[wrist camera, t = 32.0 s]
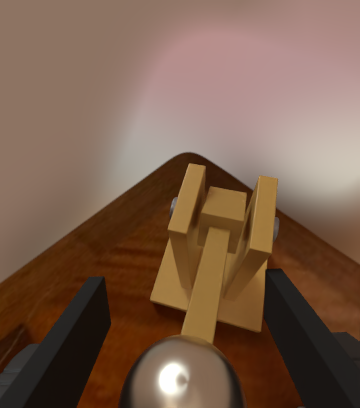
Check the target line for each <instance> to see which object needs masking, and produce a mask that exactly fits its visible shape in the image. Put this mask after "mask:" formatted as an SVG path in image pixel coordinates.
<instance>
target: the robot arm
mask: <svg viewBox="0 0 360 408" xmlns="http://www.w3.org/2000/svg"><path fill="white" fill-rule="evenodd" d="M264 319H265V321H266V323H267V325H268V328H269V330H270V332H271V334H272V336H273V339H274V341H275V343H276V345H277V347H278V349H279V352H280V354H281V356H282V358H283V360H284V363H285V365H286V367H287V369H288V371H289V373H290V376H291V378H292V380H293V382H294V384H295V387H296V389H297V391H298V393H299V395H300V397H301V400H302V402H303V404H304V406H305V408H360V341H358V340H357V339H355V338H354V337H352V336H351V335H350V334H348V333H347V332H337V333H331V332H330V331H329V329H328V328H327V327H326V325H325V324H324V323H323V322H322V320H321V319H320V318H319V316H318V315H317V314H316V313H315V311H314V310H313V309H312V307H311V306H310V305H309V304H308V302H307V301H306V300H305V299H304V297H303V296H302V295H301V293H300V292H299V291H298V290H297V288H296V287H295V286H294V284H293V283H292V282H291V281H290V279H289V278H288V277H287V275H286V274H285V273H284V272H283V270H282V269H265V298H264ZM110 325H111V319H110V312H109V305H108V299H107V292H106V285H105V278H104V276H102V277H89V278H88V279H87V281H86V282H85V283H84V285H83V286H82V287H81V289H80V290H79V292H78V293H77V294H76V296H75V297H74V298H73V300H72V301H71V302H70V304H69V305H68V307H67V308H66V309H65V311H64V312H63V313H62V315H61V316H60V318H59V319H58V320H57V322H56V323H55V324H54V326H53V327H52V328H51V330H50V331H49V333H48V334H47V335H46V337H45V338H44V339H43V341H42V342H41V343H40V344H29V345H28V346H27V347H26V348H24V349H23V350H22V351H21V352H19V353H18V354H17V355H16V356H15V357H14V358H13V359H12V360H11V361H10V363H9V364H8V365H7V366H6V368H5V369H4V370H3V373H1V374H0V408H76V407H77V405H78V402H79V400H80V397H81V395H82V393H83V390H84V388H85V385H86V383H87V381H88V378H89V376H90V373H91V371H92V369H93V366H94V364H95V361H96V359H97V357H98V354H99V352H100V349H101V347H102V345H103V342H104V340H105V337H106V335H107V333H108V330H109V328H110Z"/></svg>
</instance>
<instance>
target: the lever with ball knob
mask: <svg viewBox="0 0 360 408" xmlns="http://www.w3.org/2000/svg"><path fill="white" fill-rule="evenodd" d="M246 196H247V193H243V192H238V191H232V190H227V189H221V188H216V187H210V189H209V191H208V194H207V197H206V200H205V203H204V206H203V209H202V212H201V219H200V226H199V234H198V241H197V245H198V246H202V247H204V250H203V253H202V257H201V261H200V264H199V268H198V272H197V276H196V279H195V283H194V287H193V290H192V294H191V298H190V302H189V305H188V309H187V313H186V316H185V320H184V324H183V328H182V331H181V335H174V336H169V337H166V338H163V339H161V340H159V341H157V342H155V343H154V344H152V345H151V346H149V347H148V348H147V349H146V350H145V351H144V352H143V353H142V354H141V355H140V356H139V357H138V358H137V360H136V361H135V362H134V364H133V365H132V367H131V369H130V370H129V372H128V374H127V377H126V379H125V381H124V384H123V387H122V390H121V394H120V399H119V404H118V408H247V402H246V397H245V393H244V390H243V387H242V384H241V381H240V379H239V377H238V375H237V372H236V371H235V369H234V367H233V365H232V364H231V363H230V361H229V360H228V359H227V357H226V356H225V355H224V354H223V353H222V352H221V351H220V350H219V349H218V348H216V347H215V346H214V345H213V342H214V336H215V329H216V323H217V316H218V310H219V303H220V297H221V290H222V284H223V277H224V271H225V264H226V258H227V253H232V254H236V250H237V247H238V243H239V239H240V236H241V232H242V228H243V224H244V219H245V208H246Z"/></svg>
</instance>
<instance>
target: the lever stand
mask: <svg viewBox="0 0 360 408" xmlns="http://www.w3.org/2000/svg"><path fill="white" fill-rule="evenodd" d="M205 171H206V167H205V166H201V165H196V164H189V165H188V168H187V172H186V175H185V178H184V181H183V184H182V187H181V190H180V193H179V196H178V198H177V197H175V198H174V199H173V201H172V204H171V208H170V223H169V226H168V233H169V241H168V244H167V247H166V250H165V254H164V257H163V260H162V263H161V266H160V269H159V272H158V276H157V279H156V282H155V285H154V288H153V291H152V294H151V298H150V300H151V302H153V303H157V304H160V305H164V306H167V307H171V308H174V309H177V310H181V311H184V312H187V309H188V305H189V302H190V298H191V294H192V290H193V287H194V283H195V279H196V276H197V272H198V268H199V264H200V261H201V257H202V253H203V250H204V247H202V246H198V245H197V241H198V234H199V226H200V219H201V212H202V209H203V206H204V190H205ZM277 185H278V179H277V178H271V177H266V176H259V178H258V181H257V184H256V187H255V189H254V192H253V195H252V198H251V200H250V203H249V206H248V209H247V211H246V214H245V219H244V224H243V228H242V232H241V236H240V239H239V243H238V247H237V250H236V254H232V253H227V258H226V264H225V271H224V277H223V284H222V290H221V297H220V303H219V310H218V316H217V321H219V322H222V323H226V324H229V325H233V326H236V327H240V328H243V329H247V330H250V331H253V332H257V333H258V332H261V325H262V314H263V303H264V292H265V269H267V260H268V257H269V256H270V255H271V253H272V244H273V242H274V241H275V239H276V237H277V234H278V229H279V219H278V218H277V217H275V209H276V196H277Z"/></svg>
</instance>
